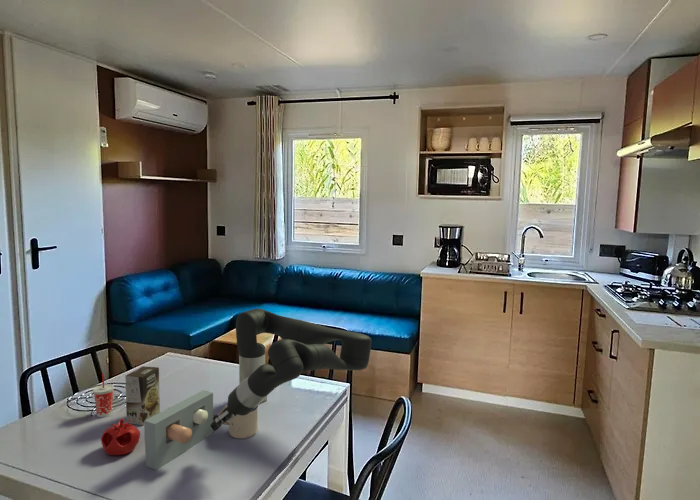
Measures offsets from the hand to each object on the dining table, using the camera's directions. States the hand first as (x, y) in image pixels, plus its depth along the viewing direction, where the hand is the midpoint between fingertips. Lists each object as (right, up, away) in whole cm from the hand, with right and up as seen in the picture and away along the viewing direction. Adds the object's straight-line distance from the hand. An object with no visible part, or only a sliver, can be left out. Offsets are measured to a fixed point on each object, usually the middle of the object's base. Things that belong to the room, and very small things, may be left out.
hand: (213, 427), depth 128 cm
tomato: (-27, -8, +2) cm, 28 cm away
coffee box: (-29, -5, +21) cm, 36 cm away
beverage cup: (-44, -5, +23) cm, 50 cm away
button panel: (-10, -7, +3) cm, 13 cm away
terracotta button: (-9, -2, -3) cm, 10 cm away
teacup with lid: (+4, -7, +13) cm, 15 cm away
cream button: (-8, -1, +7) cm, 11 cm away
